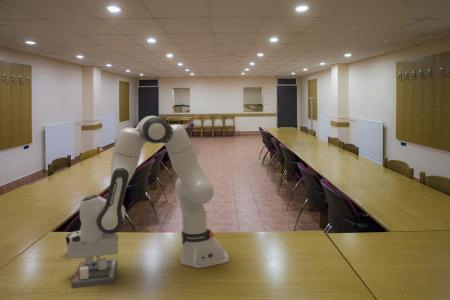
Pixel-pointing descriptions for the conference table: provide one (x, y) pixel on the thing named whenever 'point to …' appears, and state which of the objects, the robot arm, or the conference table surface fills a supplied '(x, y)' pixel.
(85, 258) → the block
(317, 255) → the conference table surface
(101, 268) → the block
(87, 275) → the block
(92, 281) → the panel
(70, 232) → the coffee mug
